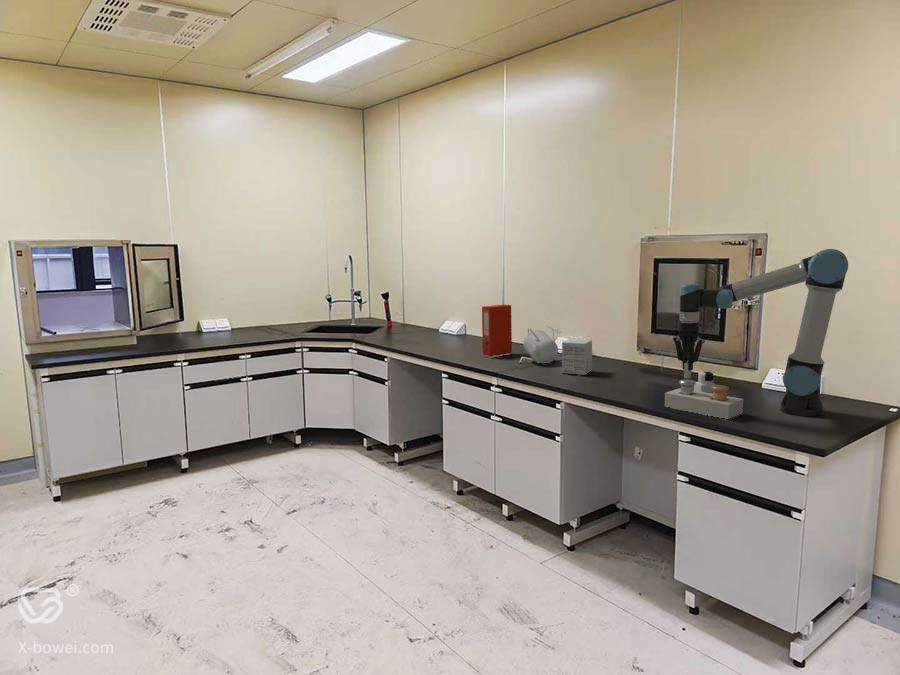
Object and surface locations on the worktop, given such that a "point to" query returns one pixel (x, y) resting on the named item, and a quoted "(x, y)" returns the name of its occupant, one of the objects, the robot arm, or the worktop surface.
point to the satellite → (540, 346)
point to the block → (704, 404)
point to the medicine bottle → (704, 382)
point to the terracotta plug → (720, 392)
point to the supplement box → (577, 356)
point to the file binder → (496, 329)
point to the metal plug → (687, 387)
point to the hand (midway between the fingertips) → (687, 377)
